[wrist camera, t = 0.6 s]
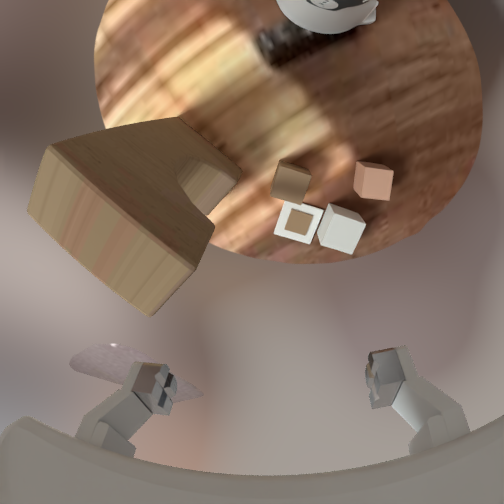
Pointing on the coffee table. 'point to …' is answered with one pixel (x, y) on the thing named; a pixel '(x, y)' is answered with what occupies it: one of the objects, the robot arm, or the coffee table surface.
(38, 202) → the decorative block
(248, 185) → the coffee table surface
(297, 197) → the walnut cube
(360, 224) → the base block
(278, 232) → the card
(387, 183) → the terracotta cube
